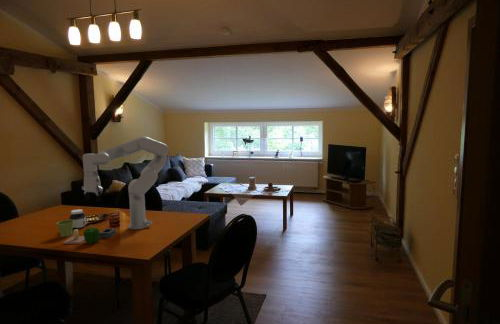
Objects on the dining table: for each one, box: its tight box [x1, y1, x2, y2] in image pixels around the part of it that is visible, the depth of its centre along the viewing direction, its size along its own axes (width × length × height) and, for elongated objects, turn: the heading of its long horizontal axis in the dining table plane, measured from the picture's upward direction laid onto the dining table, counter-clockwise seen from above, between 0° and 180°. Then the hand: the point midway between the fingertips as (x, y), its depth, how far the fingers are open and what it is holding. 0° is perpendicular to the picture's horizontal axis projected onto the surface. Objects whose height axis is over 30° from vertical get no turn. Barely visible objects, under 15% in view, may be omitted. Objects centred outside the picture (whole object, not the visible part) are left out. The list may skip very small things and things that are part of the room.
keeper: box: [62, 229, 86, 245], centre depth 192 cm, size 10×10×6 cm
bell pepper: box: [83, 224, 100, 245], centre depth 189 cm, size 8×8×10 cm
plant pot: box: [56, 219, 74, 238], centre depth 201 cm, size 9×9×9 cm
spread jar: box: [68, 209, 87, 230], centre depth 216 cm, size 12×11×12 cm
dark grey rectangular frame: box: [99, 227, 117, 239], centre depth 200 cm, size 6×8×3 cm
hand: (93, 200), depth 203 cm, fingers open, 9 cm apart
